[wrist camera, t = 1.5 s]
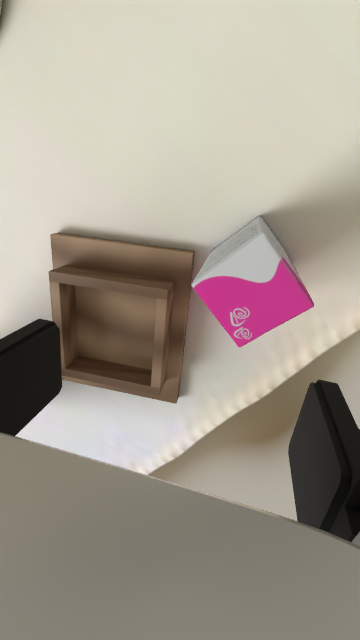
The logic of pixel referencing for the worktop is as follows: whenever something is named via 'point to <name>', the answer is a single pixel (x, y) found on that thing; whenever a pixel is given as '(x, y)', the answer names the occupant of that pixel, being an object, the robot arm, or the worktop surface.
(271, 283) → the supplement box
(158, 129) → the worktop surface
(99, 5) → the worktop surface
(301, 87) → the worktop surface
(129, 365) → the holder
